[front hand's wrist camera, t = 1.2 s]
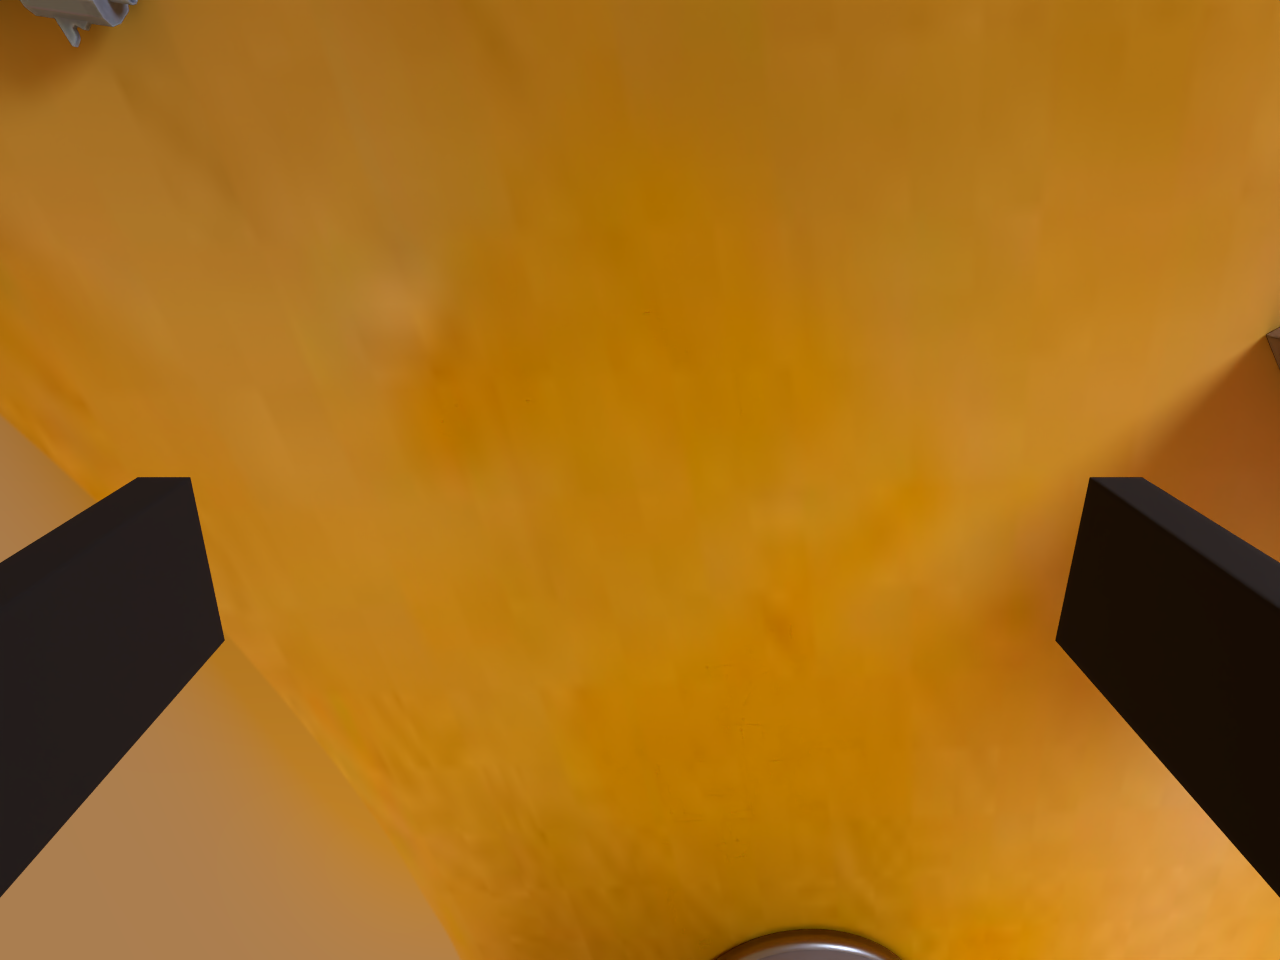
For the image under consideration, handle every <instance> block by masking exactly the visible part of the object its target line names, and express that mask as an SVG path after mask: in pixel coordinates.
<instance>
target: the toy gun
mask: <svg viewBox="0 0 1280 960" xmlns="http://www.w3.org/2000/svg"><path fill="white" fill-rule="evenodd" d="M20 1H21V2H22V4H23V5H24V7H25V8H27V9H28V10H29V11H31V12H32V13H33V14H35V15H36V16H43V17H49V18H55V20H56V21H57V23H58V24H59V26H60V27H61V29H62V31H63V32H64V34H65V35H66V37H67V39H68V40H69V42H70V43H71V45H72V46H74V47H78V46H79V44H80V40H81V38H80V34H79V32H78V30H77V28H78V27H80V28H82V29H83V30H88V31H89V29H90V27H91V25H92V24H97V25H104V26H110V27H114V26H116V25H118V24H120V23H122V21H123V20H124V18H125V16H126V15H127V13H128V11H129V9H128V4H129V5H135V4H137V0H20Z"/></svg>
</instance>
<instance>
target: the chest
mask: <svg viewBox="0 0 1280 960" xmlns="http://www.w3.org/2000/svg"><path fill="white" fill-rule="evenodd" d="M1266 336H1267V338H1268V341H1269V343H1270V346H1271V349H1272V351H1273V354H1274V356H1275V359H1276V361H1277V364H1278V366H1279V369H1280V327H1279V328H1277V329H1276V330H1274V331H1272V332H1270V333H1268V334H1267V335H1266Z"/></svg>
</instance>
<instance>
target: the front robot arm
mask: <svg viewBox="0 0 1280 960" xmlns="http://www.w3.org/2000/svg"><path fill="white" fill-rule="evenodd" d="M1055 641H1056V642H1057V643H1058V644H1059V645H1060V646H1061V647H1062V649H1063V650H1064V651H1065V652H1066V653H1067V654H1068V655H1069V657H1070V658H1071V659H1072V660H1073V661H1074V662H1075V663H1076V665H1077V666H1078V667H1079V668H1080V669H1081V670H1082V671H1083V673H1084V674H1085V675H1086V676H1087V677H1088V678H1089V679H1090V681H1091V682H1092V683H1093V684H1094V685H1095V686H1096V688H1097V689H1098V690H1099V691H1100V692H1101V693H1102V694H1103V696H1104V697H1105V698H1106V699H1107V700H1108V701H1109V702H1110V704H1111V705H1112V706H1113V707H1114V708H1115V709H1116V710H1117V712H1118V713H1119V714H1120V715H1121V716H1122V717H1123V718H1124V720H1125V721H1126V722H1127V723H1128V724H1129V725H1130V726H1131V728H1132V729H1133V730H1134V731H1135V732H1136V733H1137V734H1138V736H1139V737H1140V738H1141V739H1142V740H1143V741H1144V742H1145V744H1146V745H1147V746H1148V747H1149V748H1150V749H1151V751H1152V752H1153V753H1154V754H1155V755H1156V756H1157V757H1158V759H1159V760H1160V761H1161V762H1162V763H1163V764H1164V765H1165V767H1166V768H1167V769H1168V770H1169V771H1170V772H1171V773H1172V775H1173V776H1174V777H1175V778H1176V779H1177V780H1178V781H1179V783H1180V784H1181V785H1182V786H1183V787H1184V788H1185V789H1186V791H1187V792H1188V793H1189V794H1190V795H1191V796H1192V797H1193V799H1194V800H1195V801H1196V802H1197V803H1198V804H1199V805H1200V807H1201V808H1202V809H1203V810H1204V811H1205V812H1206V813H1207V815H1208V816H1209V817H1210V818H1211V819H1212V820H1213V822H1214V823H1215V824H1216V825H1217V826H1218V827H1219V828H1220V830H1221V831H1222V832H1223V833H1224V834H1225V835H1226V836H1227V838H1228V839H1229V840H1230V841H1231V842H1232V843H1233V844H1234V846H1235V847H1236V848H1237V849H1238V850H1239V851H1240V852H1241V854H1242V855H1243V856H1244V857H1245V858H1246V859H1247V860H1248V862H1249V863H1250V864H1251V865H1252V866H1253V867H1254V868H1255V870H1256V871H1257V872H1258V873H1259V874H1260V875H1261V876H1262V878H1263V879H1264V880H1265V881H1266V882H1267V883H1268V885H1269V886H1270V887H1271V888H1272V889H1273V890H1274V891H1275V893H1276V894H1277V895H1278V896H1279V897H1280V563H1279V562H1277V561H1276V560H1274V559H1273V558H1271V557H1269V556H1268V555H1266V554H1265V553H1263V552H1261V551H1260V550H1258V549H1257V548H1255V547H1253V546H1252V545H1250V544H1249V543H1247V542H1245V541H1244V540H1242V539H1240V538H1239V537H1237V536H1236V535H1234V534H1232V533H1231V532H1229V531H1228V530H1226V529H1224V528H1223V527H1221V526H1220V525H1218V524H1216V523H1215V522H1213V521H1212V520H1210V519H1208V518H1207V517H1205V516H1204V515H1202V514H1200V513H1199V512H1197V511H1196V510H1194V509H1192V508H1191V507H1189V506H1187V505H1186V504H1184V503H1183V502H1181V501H1179V500H1178V499H1176V498H1175V497H1173V496H1171V495H1170V494H1168V493H1167V492H1165V491H1163V490H1162V489H1160V488H1159V487H1157V486H1155V485H1154V484H1152V483H1151V482H1149V481H1147V480H1146V479H1144V478H1143V477H1090V479H1089V483H1088V488H1087V493H1086V498H1085V502H1084V507H1083V512H1082V517H1081V521H1080V526H1079V531H1078V536H1077V540H1076V545H1075V550H1074V554H1073V559H1072V564H1071V569H1070V573H1069V578H1068V583H1067V588H1066V592H1065V597H1064V602H1063V607H1062V611H1061V616H1060V621H1059V626H1058V630H1057V635H1056V640H1055ZM223 642H224V635H223V630H222V626H221V621H220V616H219V611H218V607H217V602H216V597H215V592H214V588H213V583H212V578H211V573H210V569H209V564H208V559H207V554H206V550H205V545H204V540H203V536H202V531H201V526H200V521H199V517H198V512H197V507H196V502H195V498H194V493H193V488H192V483H191V479H190V477H137V478H136V479H134V480H133V481H131V482H129V483H128V484H126V485H125V486H123V487H121V488H120V489H118V490H117V491H115V492H113V493H112V494H110V495H109V496H107V497H105V498H104V499H102V500H101V501H99V502H97V503H96V504H94V505H93V506H91V507H89V508H88V509H86V510H84V511H83V512H81V513H80V514H78V515H76V516H75V517H73V518H72V519H70V520H68V521H67V522H65V523H64V524H62V525H61V526H59V527H57V528H56V529H54V530H52V531H51V532H49V533H48V534H46V535H44V536H43V537H41V538H40V539H38V540H36V541H35V542H33V543H32V544H30V545H28V546H27V547H25V548H23V549H22V550H20V551H19V552H17V553H15V554H14V555H12V556H11V557H9V558H7V559H6V560H4V561H3V562H1V563H0V897H1V896H2V895H3V894H4V893H5V891H6V890H7V889H8V888H9V887H10V886H11V885H12V883H13V882H14V881H15V880H16V879H17V878H18V876H19V875H20V874H21V873H22V872H23V871H24V870H25V868H26V867H27V866H28V865H29V864H30V863H31V862H32V860H33V859H34V858H35V857H36V856H37V855H38V854H39V852H40V851H41V850H42V849H43V848H44V847H45V846H46V844H47V843H48V842H49V841H50V840H51V839H52V838H53V836H54V835H55V834H56V833H57V832H58V831H59V829H60V828H61V827H62V826H63V825H64V824H65V823H66V822H67V820H68V819H69V818H70V817H71V816H72V815H73V813H74V812H75V811H76V810H77V809H78V808H79V807H80V805H81V804H82V803H83V802H84V801H85V800H86V799H87V797H88V796H89V795H90V794H91V793H92V792H93V791H94V789H95V788H96V787H97V786H98V785H99V784H100V782H101V781H102V780H103V779H104V778H105V777H106V776H107V775H108V773H109V772H110V771H111V770H112V769H113V768H114V767H115V765H116V764H117V763H118V762H119V761H120V760H121V758H122V757H123V756H124V755H125V754H126V753H127V752H128V750H129V749H130V748H131V747H132V746H133V745H134V744H135V742H136V741H137V740H138V739H139V738H140V737H141V736H142V734H143V733H144V732H145V731H146V730H147V729H148V728H149V726H150V725H151V724H152V723H153V722H154V721H155V720H156V718H157V717H158V716H159V715H160V714H161V713H162V712H163V710H164V709H165V708H166V707H167V706H168V705H169V704H170V702H171V701H172V700H173V699H174V698H175V697H176V696H177V694H178V693H179V692H180V691H181V690H182V689H183V687H184V686H185V685H186V684H187V683H188V682H189V681H190V679H191V678H192V677H193V676H194V675H195V674H196V673H197V671H198V670H199V669H200V668H201V667H202V666H203V665H204V663H205V662H206V661H207V660H208V659H209V658H210V657H211V655H212V654H213V653H214V652H215V651H216V650H217V649H218V647H219V646H220V645H221V644H222V643H223ZM717 960H901V959H900V958H899V957H898V956H896V955H895V954H894V953H892V952H891V951H890V950H888V949H886V948H885V947H883V946H881V945H880V944H877V943H875V942H873V941H871V940H868V939H866V938H863V937H860V936H857V935H853V934H850V933H845V932H840V931H833V930H822V929H801V930H791V931H784V932H778V933H773V934H769V935H766V936H762V937H759V938H756V939H753V940H751V941H748V942H746V943H743V944H741V945H739V946H737V947H735V948H733V949H731V950H730V951H728V952H727V953H725V954H723V955H722V956H720V957H719V958H718V959H717Z"/></svg>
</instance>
